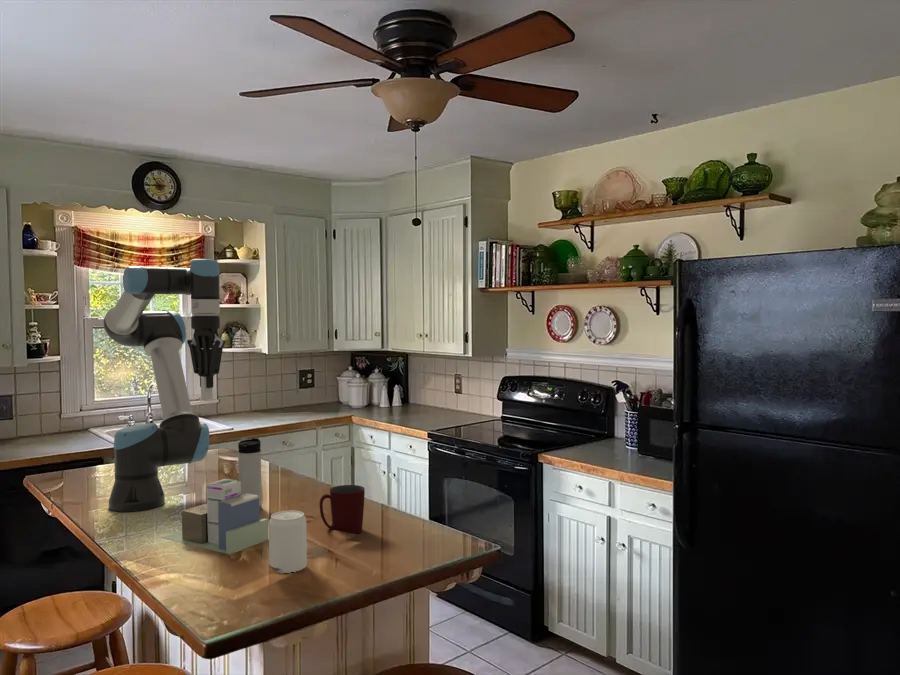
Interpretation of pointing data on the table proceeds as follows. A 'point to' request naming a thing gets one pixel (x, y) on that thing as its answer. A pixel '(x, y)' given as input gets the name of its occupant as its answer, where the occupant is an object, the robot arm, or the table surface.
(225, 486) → the syrup box
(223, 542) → the book block
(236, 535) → the pale green slab
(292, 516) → the beverage can
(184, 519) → the bookend
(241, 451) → the travel mug
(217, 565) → the table surface
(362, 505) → the mug
